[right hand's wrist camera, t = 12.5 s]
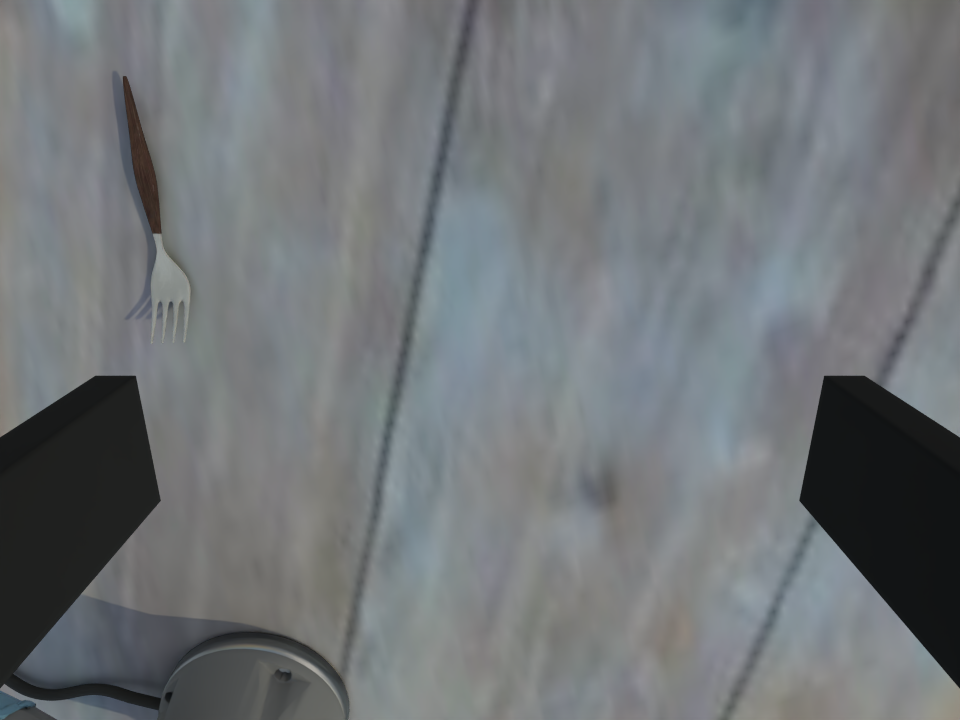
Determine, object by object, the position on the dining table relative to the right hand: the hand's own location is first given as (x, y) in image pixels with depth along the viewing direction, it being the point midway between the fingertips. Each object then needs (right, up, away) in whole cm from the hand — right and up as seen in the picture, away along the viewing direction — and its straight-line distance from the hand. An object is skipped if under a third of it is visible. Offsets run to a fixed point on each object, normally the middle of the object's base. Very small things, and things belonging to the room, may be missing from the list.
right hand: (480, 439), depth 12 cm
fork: (-20, +11, +28) cm, 36 cm away
